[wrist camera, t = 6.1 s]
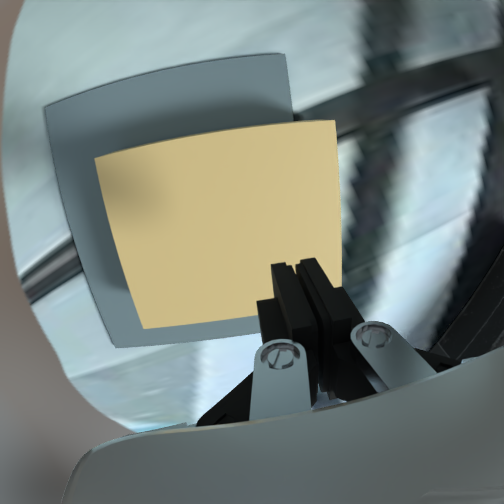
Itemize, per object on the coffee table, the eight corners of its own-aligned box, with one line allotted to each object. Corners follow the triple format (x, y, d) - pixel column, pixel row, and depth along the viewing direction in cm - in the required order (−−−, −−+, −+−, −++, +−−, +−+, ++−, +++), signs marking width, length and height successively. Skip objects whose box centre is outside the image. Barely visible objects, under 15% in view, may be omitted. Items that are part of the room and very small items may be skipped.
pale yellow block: (334, 120, 16) (94, 158, 16) (341, 300, 21) (143, 329, 21) (314, 119, 20) (117, 150, 20) (324, 272, 25) (154, 297, 25)
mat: (283, 54, 19) (285, 53, 18) (307, 322, 28) (308, 324, 27) (47, 107, 18) (45, 107, 18) (116, 345, 27) (115, 348, 27)
